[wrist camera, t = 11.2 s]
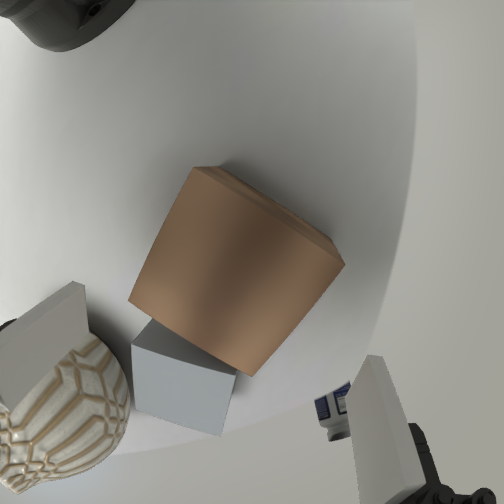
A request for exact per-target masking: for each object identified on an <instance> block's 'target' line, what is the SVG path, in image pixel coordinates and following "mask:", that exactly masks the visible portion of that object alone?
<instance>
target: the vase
mask: <svg viewBox="0 0 504 504" xmlns="http://www.w3.org/2000/svg"><path fill="white" fill-rule="evenodd" d="M129 414H130V393H129V387H128V383H127V380H126V377H125V374H124V372H123V370H122V368H121V366H120V364H119V362H118V360H117V359H116V357H115V356H114V354H113V353H112V352H111V350H110V349H109V348H108V347H107V346H106V344H105V343H104V342H103V341H101V340H100V339H99V338H98V337H97V336H95V335H94V334H93V333H91V332H90V331H89V333H88V334H87V335H86V336H85V337H84V338H83V339H82V340H81V341H80V342H78V343H77V344H76V345H75V346H74V347H73V348H72V349H71V350H70V351H69V352H68V353H67V354H66V355H65V356H64V357H63V358H62V359H61V360H60V361H59V362H58V363H57V364H56V365H55V366H54V367H53V368H52V369H51V370H50V371H49V372H48V373H47V374H46V376H45V377H44V378H43V379H42V380H41V381H40V382H39V383H38V384H37V385H36V386H35V387H34V388H33V389H32V390H31V391H30V392H29V393H28V394H27V395H26V397H25V398H24V399H23V400H22V401H21V402H20V403H19V404H18V405H17V406H16V407H15V408H14V410H13V411H12V412H11V413H10V412H8V411H7V410H6V409H5V408H4V407H2V406H1V405H0V482H1V483H2V484H3V485H5V486H6V487H7V488H8V489H9V490H11V491H12V492H13V493H15V494H21V493H22V492H24V491H26V490H27V489H29V488H31V487H32V486H35V485H37V484H39V483H42V482H46V481H53V480H58V479H64V478H68V477H71V476H75V475H78V474H81V473H83V472H85V471H88V470H89V469H91V468H93V467H95V466H96V465H97V464H99V463H100V462H102V461H103V460H104V459H105V458H107V457H108V456H109V455H110V454H111V453H112V452H113V451H114V450H115V449H116V447H117V446H118V445H119V443H120V441H121V440H122V438H123V435H124V433H125V430H126V428H127V424H128V421H129Z"/></svg>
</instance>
